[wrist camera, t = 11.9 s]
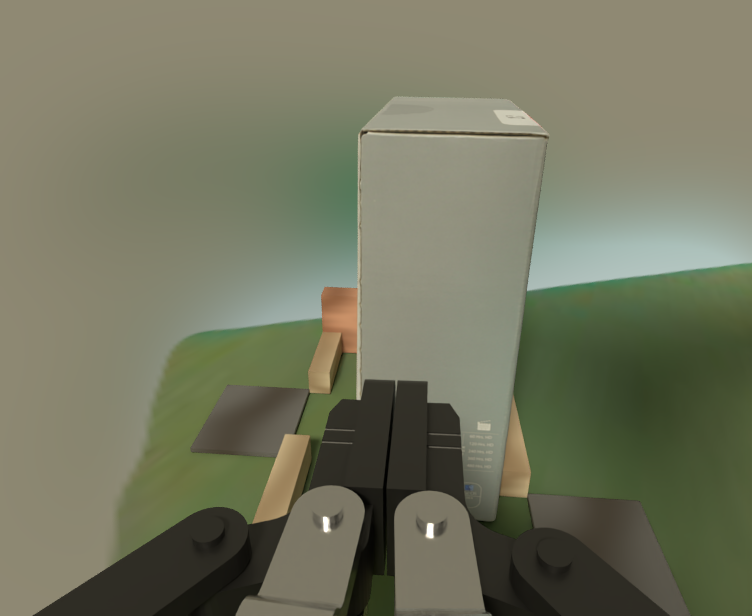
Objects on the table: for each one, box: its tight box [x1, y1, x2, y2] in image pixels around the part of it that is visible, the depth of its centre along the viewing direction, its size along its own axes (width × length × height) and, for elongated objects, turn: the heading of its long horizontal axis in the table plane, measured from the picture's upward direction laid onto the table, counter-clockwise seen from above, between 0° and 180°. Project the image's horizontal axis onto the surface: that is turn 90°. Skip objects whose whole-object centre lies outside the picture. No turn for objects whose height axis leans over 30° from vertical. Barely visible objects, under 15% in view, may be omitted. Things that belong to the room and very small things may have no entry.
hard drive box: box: [357, 97, 549, 521], centre depth 33 cm, size 16×8×20 cm, turn 174°
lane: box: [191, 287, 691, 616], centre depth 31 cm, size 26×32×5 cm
